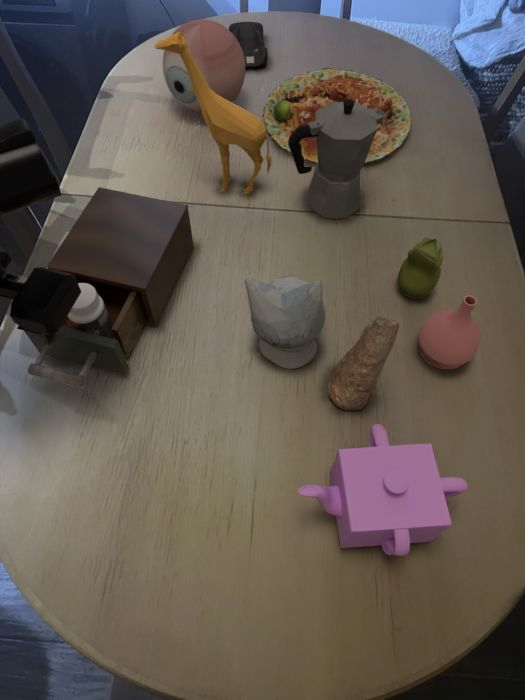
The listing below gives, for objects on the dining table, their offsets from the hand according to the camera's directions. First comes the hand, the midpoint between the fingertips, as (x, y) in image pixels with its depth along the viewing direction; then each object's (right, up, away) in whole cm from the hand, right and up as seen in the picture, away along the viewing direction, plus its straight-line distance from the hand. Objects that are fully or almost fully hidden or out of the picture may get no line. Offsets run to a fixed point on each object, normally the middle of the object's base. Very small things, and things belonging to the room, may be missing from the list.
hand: (12, 332), depth 57 cm
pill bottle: (+5, 0, +13) cm, 14 cm away
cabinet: (+8, +9, +21) cm, 24 cm away
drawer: (+5, 0, +14) cm, 15 cm away
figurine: (+31, -1, +15) cm, 34 cm away
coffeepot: (+39, +23, +29) cm, 54 cm away
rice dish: (+42, +41, +41) cm, 72 cm away
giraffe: (+21, +26, +31) cm, 46 cm away
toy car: (+25, +62, +54) cm, 86 cm away
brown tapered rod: (+39, -7, +11) cm, 41 cm away
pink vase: (+52, -3, +14) cm, 54 cm away
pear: (+50, +7, +20) cm, 54 cm away
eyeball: (+17, +46, +43) cm, 65 cm away
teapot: (+40, -20, +3) cm, 45 cm away
